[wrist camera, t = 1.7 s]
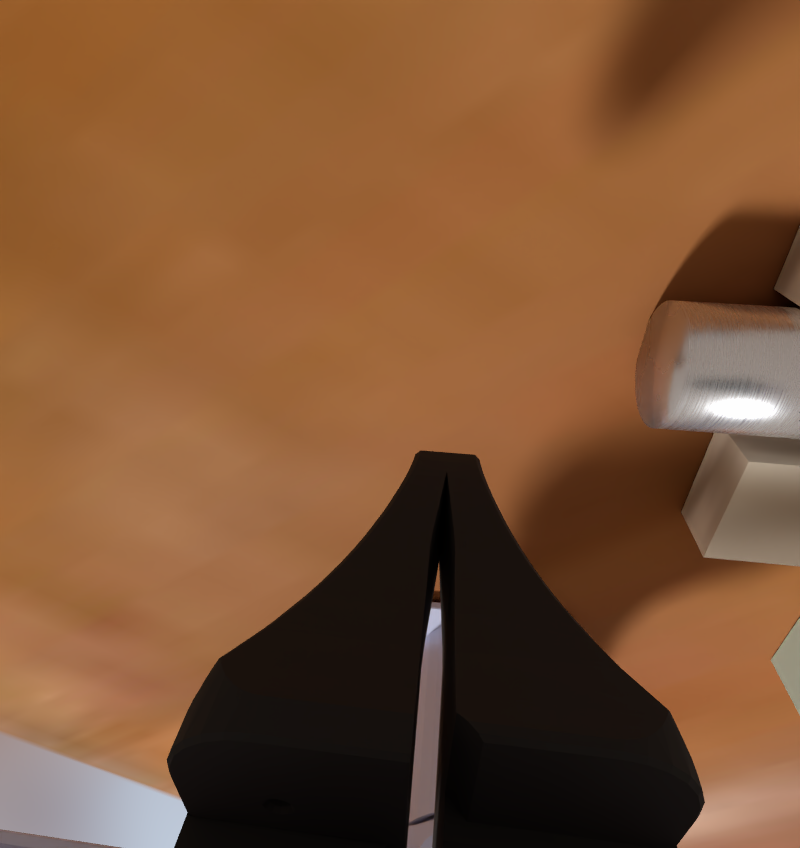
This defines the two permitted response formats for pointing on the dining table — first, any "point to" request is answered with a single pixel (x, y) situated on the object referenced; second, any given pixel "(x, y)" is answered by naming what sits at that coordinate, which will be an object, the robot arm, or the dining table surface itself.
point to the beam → (750, 483)
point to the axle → (721, 369)
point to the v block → (790, 664)
